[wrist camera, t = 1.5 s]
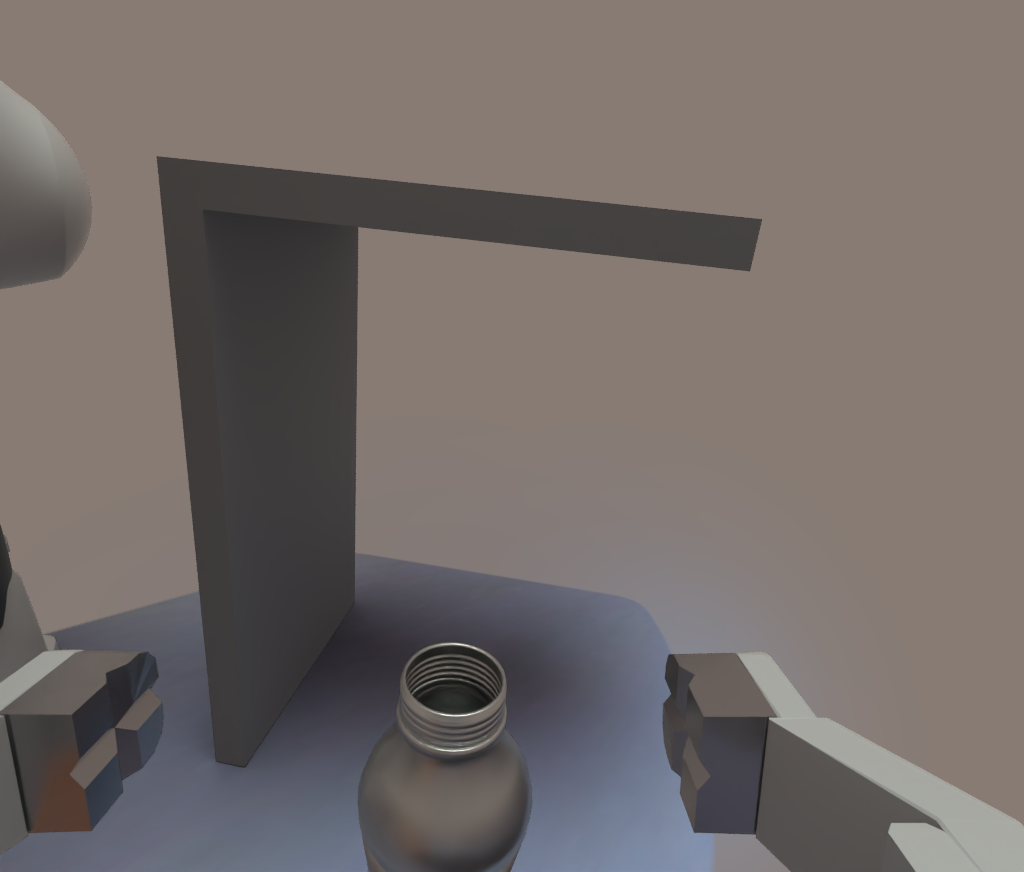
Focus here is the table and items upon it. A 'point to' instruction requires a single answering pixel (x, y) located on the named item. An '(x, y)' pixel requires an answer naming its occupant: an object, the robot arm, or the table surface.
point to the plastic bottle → (446, 771)
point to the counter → (318, 386)
